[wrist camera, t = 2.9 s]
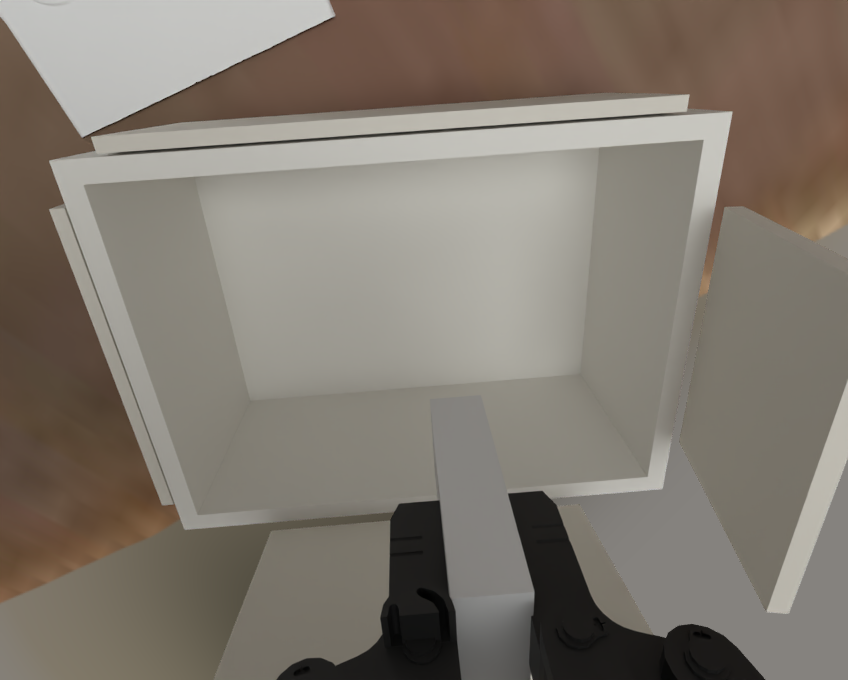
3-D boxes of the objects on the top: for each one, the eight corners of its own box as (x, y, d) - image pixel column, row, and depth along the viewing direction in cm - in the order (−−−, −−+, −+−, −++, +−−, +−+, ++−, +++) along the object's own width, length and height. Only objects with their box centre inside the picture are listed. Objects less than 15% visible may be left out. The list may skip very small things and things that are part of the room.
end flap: (766, 611, 15) (788, 613, 15) (878, 291, 11) (911, 290, 10) (679, 441, 22) (693, 441, 22) (724, 207, 18) (743, 206, 18)
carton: (233, 409, 32) (171, 532, 23) (155, 122, 25) (22, 141, 16) (588, 380, 33) (662, 490, 24) (615, 90, 25) (736, 91, 16)
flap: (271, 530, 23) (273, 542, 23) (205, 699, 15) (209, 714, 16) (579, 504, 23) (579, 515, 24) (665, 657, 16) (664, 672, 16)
